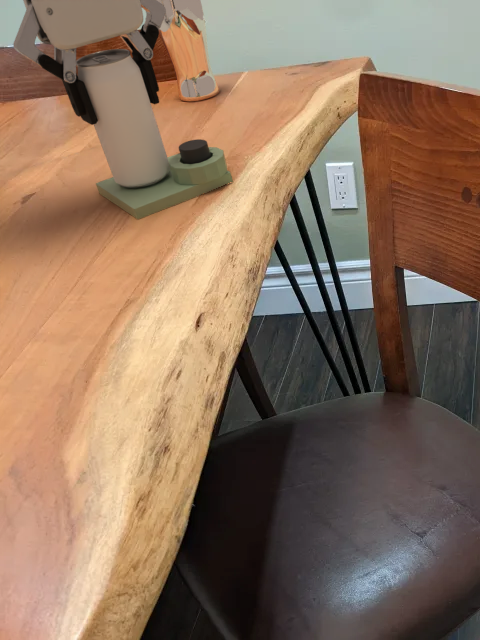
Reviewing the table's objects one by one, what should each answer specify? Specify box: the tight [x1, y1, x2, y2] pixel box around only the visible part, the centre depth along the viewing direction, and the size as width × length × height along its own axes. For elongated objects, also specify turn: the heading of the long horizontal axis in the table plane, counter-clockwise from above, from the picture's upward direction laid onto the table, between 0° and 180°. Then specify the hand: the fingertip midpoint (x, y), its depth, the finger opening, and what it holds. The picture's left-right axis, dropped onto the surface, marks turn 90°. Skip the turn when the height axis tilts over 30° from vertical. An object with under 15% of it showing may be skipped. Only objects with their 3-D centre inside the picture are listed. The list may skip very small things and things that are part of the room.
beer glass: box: [157, 0, 220, 102], centre depth 99 cm, size 7×7×15 cm
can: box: [76, 48, 170, 188], centre depth 75 cm, size 6×6×12 cm
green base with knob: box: [95, 146, 234, 220], centre depth 79 cm, size 13×12×3 cm
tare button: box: [178, 138, 211, 164], centre depth 77 cm, size 3×3×2 cm
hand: (120, 109), depth 74 cm, fingers closed on can, 6 cm apart
